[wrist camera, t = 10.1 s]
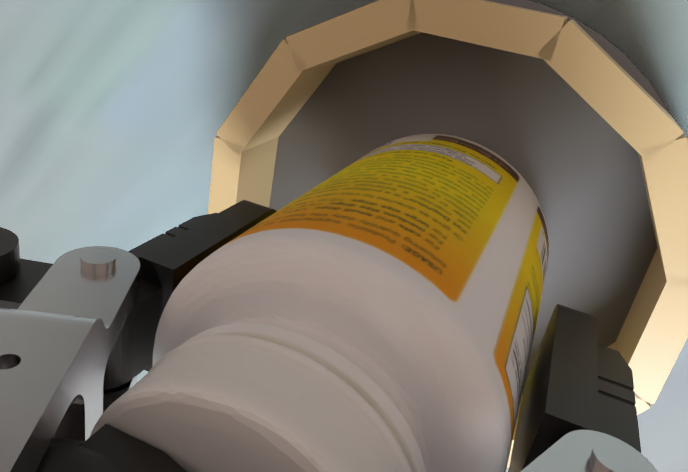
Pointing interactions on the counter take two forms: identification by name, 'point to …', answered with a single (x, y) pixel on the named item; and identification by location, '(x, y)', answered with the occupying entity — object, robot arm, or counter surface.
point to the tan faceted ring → (492, 146)
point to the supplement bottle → (356, 325)
